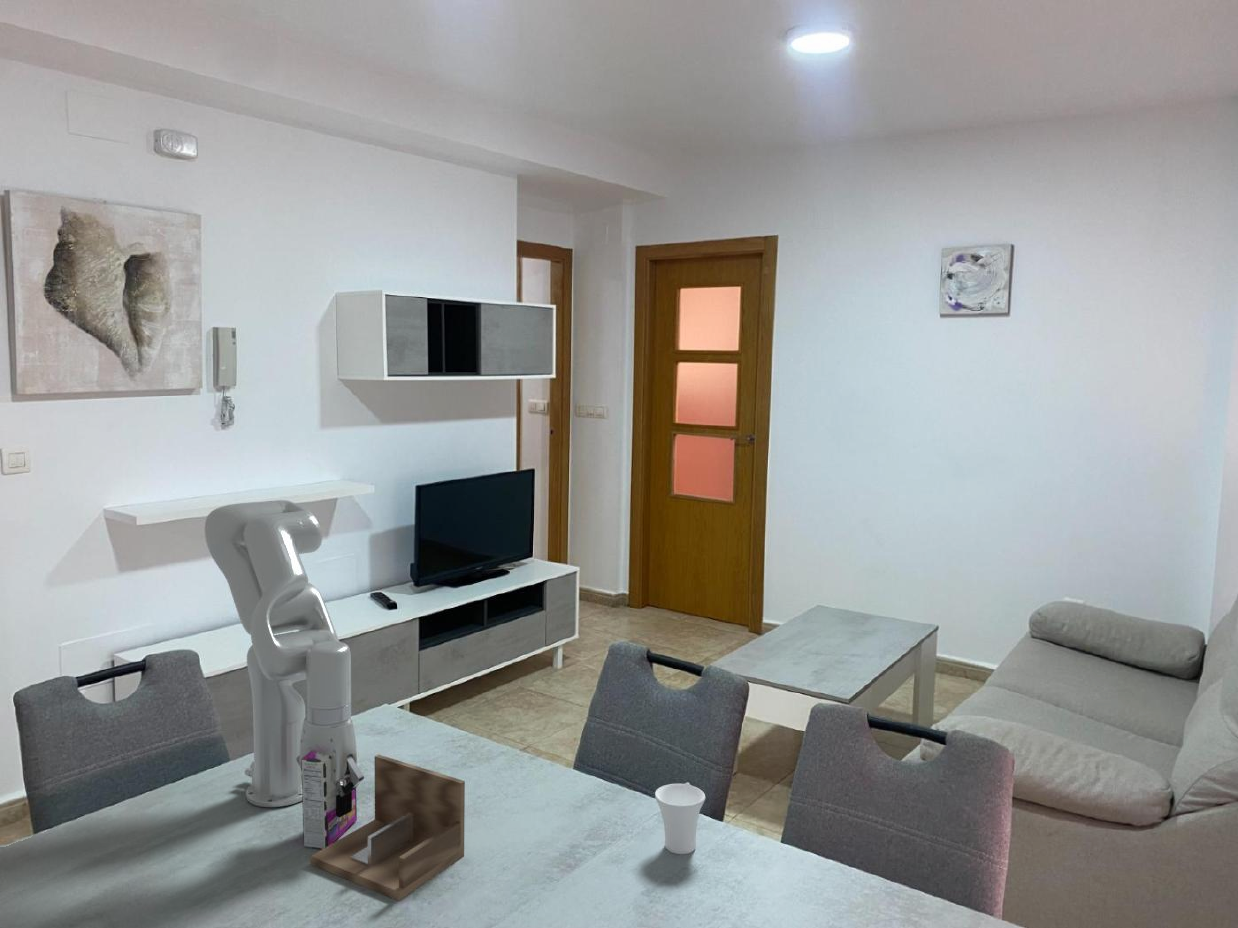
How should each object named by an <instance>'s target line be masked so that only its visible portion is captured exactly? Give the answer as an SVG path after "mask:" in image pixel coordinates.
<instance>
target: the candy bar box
mask: <svg viewBox="0 0 1238 928" xmlns="http://www.w3.org/2000/svg"><path fill="white" fill-rule="evenodd" d="M301 774H302V801H301V803H302V806H301V807H302V809H301V810H302V833H303V834H302V839H303V847H304V848H307V849H315V850H317V849H318V850H322V849H324V848H325V847H327V846H329V845H331V844H332V843H334V842H336V841H338V840H339V839H341V838H342V836H343V835H344V834H345V833H346V832H347V831H348V830H349V828H350V827H352V826H353V825H354V824H355V823H356V821H357V820H358V811H357V809H358V808H357V787H356V788H355V790H354V791H352V811H351V812H349V813H347V814H345V815H344V816H342V817H340V818H339V817H337V816H336V796H337V795H339V793H338V790H337V787H336V783H333V782H331V757H330V756H327V755H324V754H322V753H318V752H315V751H311V752H309V753H308V754H307V755H305V756H304V757H303V758H302V759H301ZM342 782H343V786H345V785H346V780H345V779H344V780H342Z"/></svg>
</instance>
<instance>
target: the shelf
mask: <svg viewBox="0 0 1238 928" xmlns="http://www.w3.org/2000/svg"><path fill="white" fill-rule="evenodd" d="M465 781H466V780H463V779H459V778H456V777H453V776H449V775H446V774H443V773H440V772H436V771H434V770H430V769H427V768H423V767H420V766H417V765H414V764H411V763H407V762H404V761H402V760H398V759H394V758H392V757H388V756H385V755H381V754H376V755H375V756H374V819H373V820H371V821H369V822H368V823H366V824H364V825H362V826H361V827H359V828H358V829H355V830H354V831H352V832H350V833H349V834H347V835H345V836H343V837H340V838H339V839H338V840H337V841H336V842H334V843H332V844H331V845H329V846H327V847H325V848H324V849H319V851H317V852H315V853H313V854H311V855H310V859H309V860H310V861H309V863H310V864H309V865H311V866H313V867H316V868H318V869H320V870H323V871H324V872H328V873H331V874H333V875H334V876H337V877H341V878H343V879H345V880H347V881H350V882H352V883H355V884H357V885H360V886H362V887H364V888H366V889H370V890H372V891H374V892H377V893H380V894H382V895H385V896H386V897H388V898H389V897H390V898H391V899H393V900H396V901H401V900H403V899H404V898H406V897H407V896H409V895H410V894H411V893H412V892H414V891H415V890H417V889H418V888H420V887H421V886H423V885H424V884H425V883H427V882H429V881H430V880H432V879H433V878H435V877H436V876H437V875H439V874H440V873H442V872H443V871H444V870H446V869H447V868H449V867H450V866H452V865H453V864H454V863H456V862H458V861H459V860H460V859H461V858H463V857H464V856H465V813H466V812H465V809H466V808H465V806H466V805H465V804H466V803H465V802H466V801H465V797H466V795H465V794H466V791H465V790H466V789H465V788H466V786H465V785H466V784H465V783H466V782H465ZM409 812H410V813H413V841H412V842H410V843H408V844H407V845H405V846H404V847H402V848H400V849H399V850H397V851H396V852H394V853H392V854H391V855H389V856H388V857H386V858H384V859H383V860H381V861H380V862H378V863H376V864H375V865H373V866H372V867H371V866H368V865H365V864H363V863H360V862H358V861H355V860H353V859H350V857H351V856H352V855H354V854H356V853H358V852H359V851H361V850H363V849H364V848H366V847H368V836H370V835H371V834H373V833H375V832H377V831H378V830H380V829H382V828H383V827H385V826H387V825H389V824H390V823H392V822H394V821H395V820H397V819H399V818H400V817H402V816H404V815H406V814H407V813H409Z"/></svg>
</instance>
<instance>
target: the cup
mask: <svg viewBox="0 0 1238 928" xmlns="http://www.w3.org/2000/svg"><path fill="white" fill-rule="evenodd" d="M654 797H655V801H656V803H657V804H658V807H659V810H660V812H661V817H662V818H661V819H662V820H663V827H664V828H663V829H664V846H665V848H666V849H667V850H668V851H669V852H671V853H673V854H675V855H676V854H677V855H688V854H692V853H693V852H694V850H696V847H697V840H696V839H697V826H698V820H699V817H700V812H701V809H702V807H703V805H704V803H705V800H706V795H705V793H704V791H703V790H701V789H700V788H699V787H696V786H694V785H691V784H690V782H686V783H670V784H666V785H662V786H660V787H658V788H657V789H656V790H655V793H654Z"/></svg>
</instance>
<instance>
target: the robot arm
mask: <svg viewBox="0 0 1238 928" xmlns="http://www.w3.org/2000/svg"><path fill="white" fill-rule="evenodd" d="M204 535H205V542H206V546H207V549H208V551H209V553H210V555H211V557H212V559H213V561H214V563H215V564H216V566H218V569H219V570H220V571H221V573H222V574H223V576H224V578H225V580H226V582H227V584H228V586H229V590H230V594H231V595H232V598H233V603H234V605H235V608H236V611H237V614H238V617H239V620H240V622H241V626H242V627H243V629H244V631H245V632H247V634H249V635H250V639H251V644H252V645H251V646H250V647H249V648H248V651H247V654H246V665H247V671H248V672H247V673H248V677H249V682H250V687H251V697H252V716H253V717H252V719H253V720H252V723H253V724H252V725H253V728H252V729H253V761H252V762H251V764H250V765H249V767H248V768H246V769H245V771H244V775H245V776H247V777H250V778H251V784H250V785H249V786H248V787H247V789H246V791H245V797H246V800H247V802H248V803H250V804H251V805H254V806H257V807H260V808H261V807H262V808H281V807H286V806H291V805H295V804H297V803H300V802H302V774H301V759H302V758H303V757H304V756H305V755H307V754H308V753H309V752H311V751H315V752H318V753H322V754H324V755H327V756H330V757H331V782H333V783H336V787H337V790H338V793H339V795H337V796H336V816H337V817H339V818H340V817H342V816H344V815H345V814H347V813H349V812H351V811H352V791H354V790H355V788H356V789H357V787H358V786H359V784H361V782H363V780H365V775H364V773H362V771H361V770H360V769H361V768H360V767H359V766H358V756H357V752H358V751H357V742H356V741H357V740H356V739H357V738H356V732H355V726H354V723H353V720H352V673H351V672H352V667H351V666H352V663H351V660H352V659H351V658H352V655H351V654H352V653H351V648H350V646H349V645H348V644H347V643H345V642H341V641H340V640H339V638H338V635H337V633H336V629H335V627H334V624H333V621H332V619H331V616H330V613H329V611H328V609H327V608H328V607H327V606H326V603H325V600H324V597H323V596H322V593H321V592H320V590H319V589H318V588H317V587H316V586H315V585H314V584H312V583H309V578H308V575H307V572H306V570H305V567H304V565H303V562H302V559H301V556H300V555H301V554H302V555H303V554H309V553H310V554H311V553H314V552H317V550H319V548H320V547H321V545H322V542H323V531H322V526H321V524H320V522H319V520H318V518H317V517H316V516H315V515H314V514H313V512H311V511H310V510H309V509H307V508H304V507H303V506H301V505H299V504H297V503H295V502H293V501H290V500H286V499H285V500H284V499H283V500H282V499H278V500H266V501H255V502H241V503H240V502H239V503H234V504H233V503H232V504H227V505H223V506H220V507H219V506H218V507H216V508H215V509H213V510H212V511H211V512H210V513H208V515H207V517H206V518H205V522H204ZM305 680H306V685H305V686H306V687H305V689H306V703H305V701H304V698H303V696H301V695H302V694H300V693H299V692H298V691H297V690H296V689H295V688H294V687H293V684H294V683H297V682H301V681H305ZM344 779H345V780H346V785H345V786H343V782H342V780H344Z"/></svg>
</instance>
